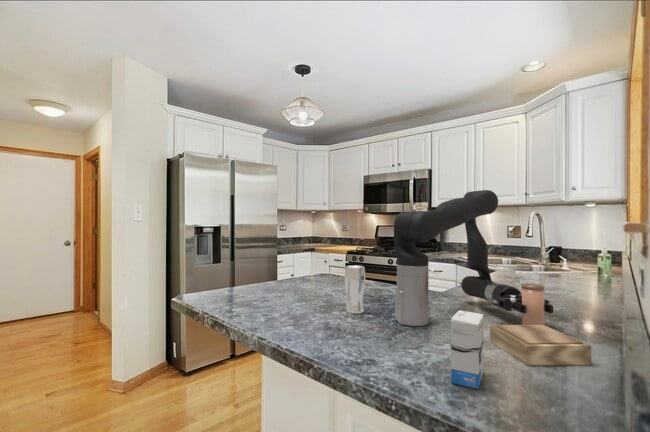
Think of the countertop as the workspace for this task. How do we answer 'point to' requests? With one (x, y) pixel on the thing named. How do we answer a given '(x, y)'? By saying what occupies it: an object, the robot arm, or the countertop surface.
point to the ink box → (467, 349)
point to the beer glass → (354, 288)
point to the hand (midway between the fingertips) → (538, 309)
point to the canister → (533, 304)
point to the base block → (540, 345)
